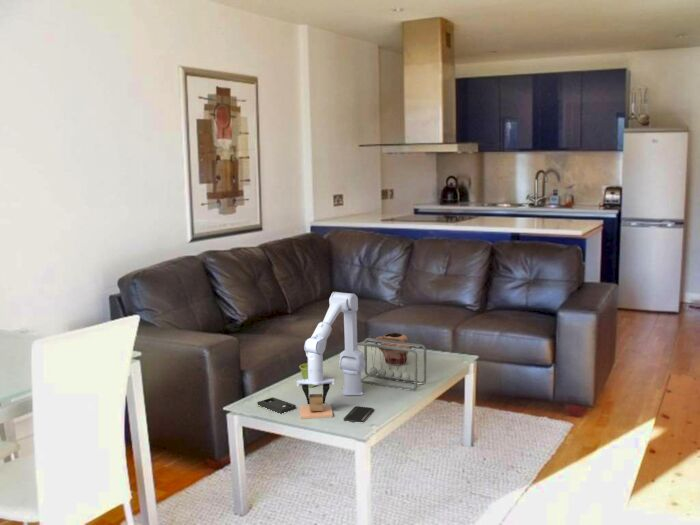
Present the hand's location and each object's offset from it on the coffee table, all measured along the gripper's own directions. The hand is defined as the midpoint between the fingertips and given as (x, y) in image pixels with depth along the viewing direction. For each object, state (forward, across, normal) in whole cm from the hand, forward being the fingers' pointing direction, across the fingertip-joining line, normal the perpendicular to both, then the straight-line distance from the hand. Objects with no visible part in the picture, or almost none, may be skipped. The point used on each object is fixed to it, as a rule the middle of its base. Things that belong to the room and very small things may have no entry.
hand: (316, 403), depth 278 cm
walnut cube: (+2, 0, 0) cm, 2 cm away
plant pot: (+4, -1, +34) cm, 34 cm away
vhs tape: (+4, -15, +8) cm, 18 cm away
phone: (+4, +16, -5) cm, 17 cm away
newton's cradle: (+4, +33, +33) cm, 47 cm away
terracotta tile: (+4, 0, 0) cm, 4 cm away
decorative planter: (+4, +39, +64) cm, 75 cm away
